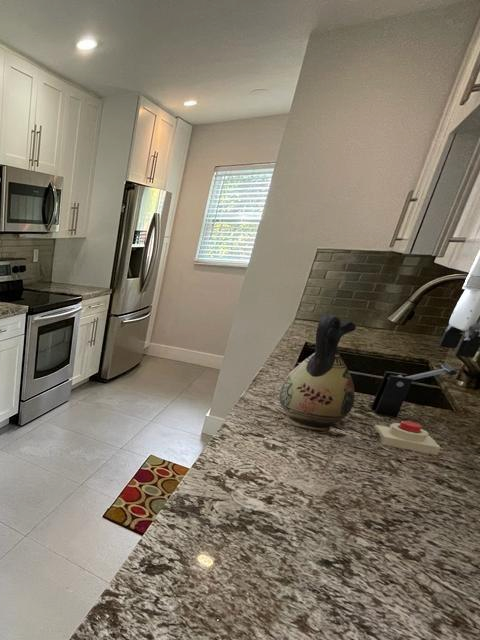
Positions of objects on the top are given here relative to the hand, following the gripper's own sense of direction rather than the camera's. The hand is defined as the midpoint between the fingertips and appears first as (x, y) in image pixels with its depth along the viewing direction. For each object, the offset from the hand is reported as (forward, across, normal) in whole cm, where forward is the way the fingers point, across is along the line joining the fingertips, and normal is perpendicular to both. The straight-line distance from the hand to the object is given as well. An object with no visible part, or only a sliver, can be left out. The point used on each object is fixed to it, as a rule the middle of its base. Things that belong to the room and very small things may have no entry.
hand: (455, 351), depth 106 cm
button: (+17, -18, +8) cm, 26 cm away
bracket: (+21, 0, +8) cm, 23 cm away
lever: (+9, 0, +4) cm, 9 cm away
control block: (+21, -18, +8) cm, 29 cm away
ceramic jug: (+21, -18, +28) cm, 40 cm away
